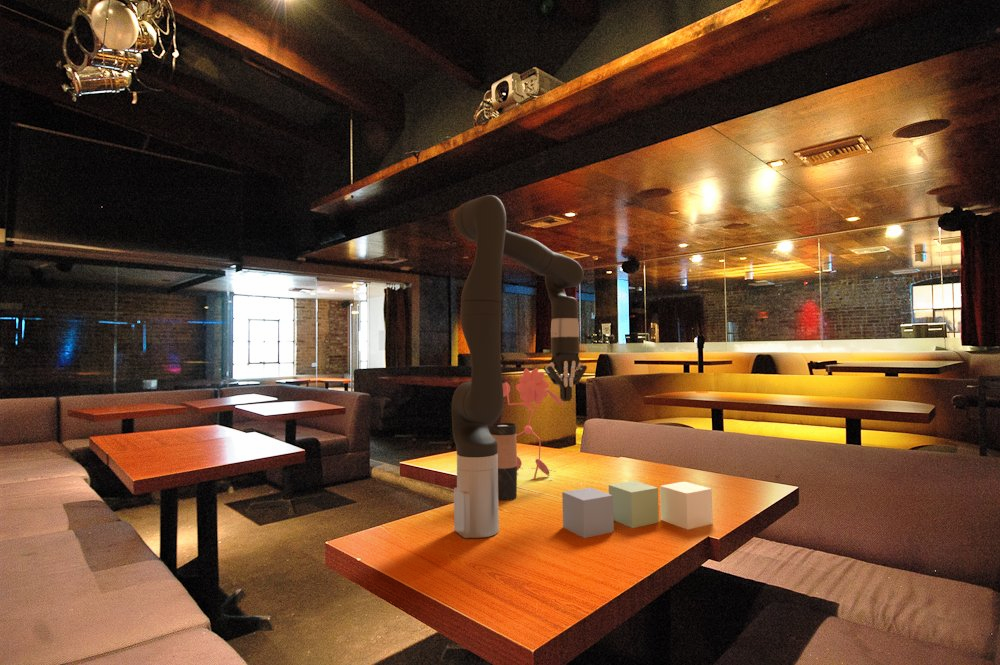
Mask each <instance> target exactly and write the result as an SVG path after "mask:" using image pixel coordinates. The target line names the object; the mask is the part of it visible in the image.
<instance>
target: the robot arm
mask: <svg viewBox="0 0 1000 665" xmlns="http://www.w3.org/2000/svg"><path fill="white" fill-rule="evenodd" d="M453 223H454V227H455V229H456V231H457V233H459V235H460V236H462V237H463V238H464V239H466V240H467V241H470V242H472V243H475V244H476V248H475V250H476V252H475V256H474V261H473V264H472V266H471V268H470V271H469V273H468V275H467V278H466V280H465V281H464V285H463V287H462V290H461V296H460V324H461V329H462V330H461V331H462V333H463V337H464V339H465V342H466V345H467V348H468V352H469V355H470V359H471V378H470V380H471V381H466V382H462V383H460V385H458V386H457V387H456V389H455V390H454V392H453V395H452V397H451V398H452V400H451V426H452V427H451V428H452V437H453V441H454V444H455V447H456V448H455V449H456V487H454V488H453V526H454V528H453V529H454V531H455V532H456V533H457V534H458V535H460V536H461V537H462V538H463V539H469V538H472V539H473V538H474V539H480V538H488V537H492V536H495V535H496V534H497V533H499V530H500V526H499V525H500V518H499V517H500V516H499V515H500V514H499V500H498V445H497V441H496V440H495V438H494V437H493V436H492V435H491V433H490V432H489V425H493V424H494V423H496V421H498V419H499V418H500V417H501V414H502V411H503V407H504V397H503V375H502V373H503V372H502V358H501V355H502V354H501V352H502V351H501V348H502V346H501V344H502V342H501V340H502V339H501V337H502V336H501V334H502V333H501V330H502V329H501V328H502V326H501V325H502V281H503V279H502V276H503V260H504V259H503V258H504V257H503V256H506V257H508V258H511V259H512V260H514V261H516V262H517V263H519V264H521V265H522V266H524V267H526V268H527V269H528V270H531V271H532V272H533V273H535V274H537V275H538V276H543V277H544V283H545V287H546V291H547V295H548V298H549V300H550V304H551V326H550V345H551V346H550V351H551V355H552V356H551V359H550V363H549V364H548V365H545V366H543V370H544V372H545V373H546V375H547V376H548V378H549V379H550V381H551V382H552V384H553V385H556V386H559V397H560V398H559V399H560V400H561V402H571V401H572V398H573V387H574V385H578V384H579V383H580V380H581V379H582V378H583V375H584V374H585V372H586V370H587V368H588V366H587V365H584V364H583V363H582V362H581V359H580V356H579V355H580V354H579V353H580V325H579V310H578V307H579V306H578V300H577V298H575V297H573V296H568V295H567V294H566V293H567V292H566V291H565V289H568V288H569V289H570V288H575V287H577V286H579V285H580V284H582V282H583V280H584V276H585V273H584V270H583V267H582V265H581V264H580V262H578V261H576V259H573V258H572V257H569V256H566V255H564V254H561V253H557V252H555V251H552V250H551V249H550V248H548V247H547V246H546V245H544V244H543V243H541V242H539V241H538V240H536V239H534V238H532V237H529V236H526V235H523V234H519V233H517V232H514V231H513V232H512V231H510V230H508V229H507V212H506V208H505V205H504V204H503V202H502V200H501V199H500V198H499V197H497V196H496V195H494V194H493V195H492V194H488V195H484V196H480V197H477V198H475V199H471V200H468V201H467V202H464V203H463V204H461V205H459V206H457V209H456V210H455V211H454V216H453Z"/></svg>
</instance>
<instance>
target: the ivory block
mask: <svg viewBox="0 0 1000 665" xmlns="http://www.w3.org/2000/svg"><path fill="white" fill-rule="evenodd" d="M659 491H660V492H659V493H660V494H659V495H660V499H659V500H660V521H664V522H666V523H669V524H672V525H674V526H677V527H679V528H682V529H685V530H687V531H689V530H692V529H696V528H700V527H705V526H709V525H713V523H714V521H713V520H714V518H713V499H712V498H713V495H712V494H713V492H712V491H713V490H712V488H710V487H706V486H702V485H698V484H696V483H691V482H688V481H679V482H674V483H668V484H663V485H659Z"/></svg>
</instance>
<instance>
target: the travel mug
mask: <svg viewBox="0 0 1000 665" xmlns="http://www.w3.org/2000/svg"><path fill="white" fill-rule="evenodd" d="M488 429H489V432H490V433H491V435H492V436H493V437H494V438H495V440H496V441H497V445H498V501H501V500H502V501H503V502H505V501H512V500H515V499H516V498H517V490H518V489H517V488H518V487H517V486H518V485H517V484H518V483H517V482H518V480H517V479H518V471H517V456H518V455H517V454H518V450H517V436H516V435H517V424H516V423H513V422H494V423H492V424H488ZM514 498H515V499H514ZM511 499H512V500H511ZM504 500H505V501H504Z"/></svg>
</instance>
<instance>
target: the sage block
mask: <svg viewBox="0 0 1000 665" xmlns="http://www.w3.org/2000/svg"><path fill="white" fill-rule="evenodd" d="M608 494H610V495H613V519H614V522H617V523H618V524H619V523H620V524H621V525H624V526H626V527H629V528H631V529H634V528H639V527H644V526H648V525H649V526H650V525H653V524H658V523H659V522H660V518H659V517H660V516H659V515H660V514H659V512H660V510H659V509H660V508H659V506H660V505H659V487H656V486H655V485H650V484H646V483H644V482H640V481H637V480H630V481H623V482H617V483H612V484H608Z"/></svg>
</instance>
